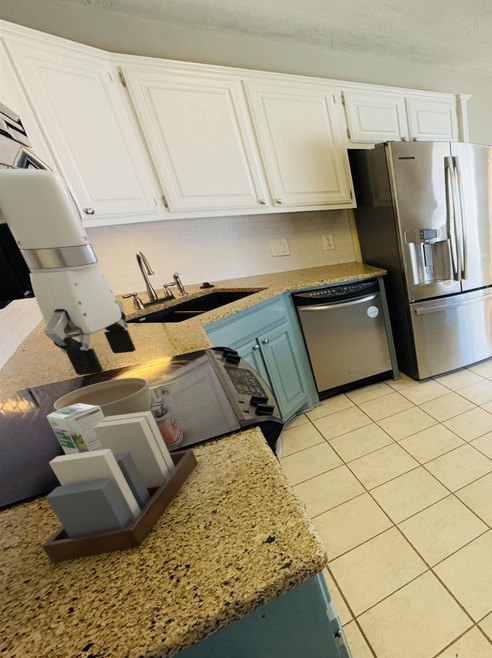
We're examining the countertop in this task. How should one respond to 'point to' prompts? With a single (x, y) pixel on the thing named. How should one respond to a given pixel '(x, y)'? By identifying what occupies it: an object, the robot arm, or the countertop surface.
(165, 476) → the white books
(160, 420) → the lighter
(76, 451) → the syrup box
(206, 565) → the countertop surface
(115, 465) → the thin white book
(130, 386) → the planter bowl
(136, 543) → the book caddy
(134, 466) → the grey books
